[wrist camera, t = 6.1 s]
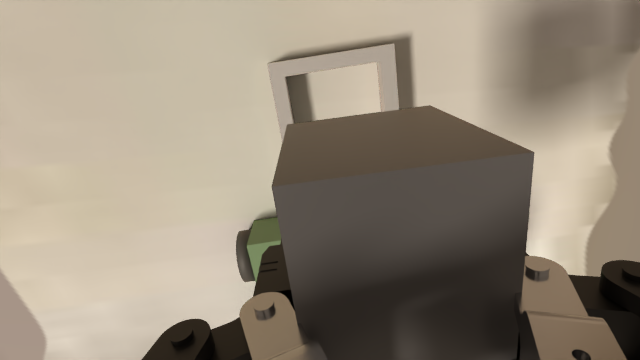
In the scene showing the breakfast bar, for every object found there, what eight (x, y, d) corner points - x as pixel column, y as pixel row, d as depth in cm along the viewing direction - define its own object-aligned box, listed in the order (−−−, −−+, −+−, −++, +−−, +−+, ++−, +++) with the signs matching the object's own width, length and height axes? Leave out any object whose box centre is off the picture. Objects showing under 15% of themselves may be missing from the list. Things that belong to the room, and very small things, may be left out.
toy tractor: (204, 73, 25) (135, 90, 15) (455, 33, 25) (560, 22, 15) (266, 317, 33) (248, 440, 23) (459, 289, 33) (530, 399, 22)
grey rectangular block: (286, 124, 12) (271, 186, 7) (429, 105, 12) (534, 151, 7) (319, 328, 16) (327, 487, 10) (433, 313, 15) (507, 464, 10)
